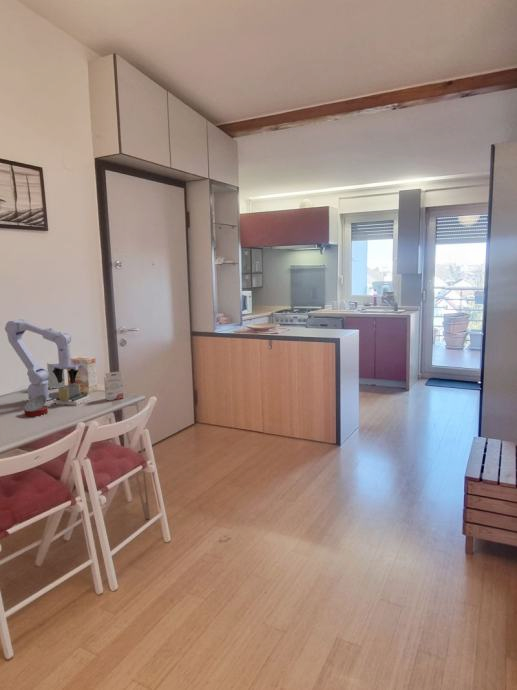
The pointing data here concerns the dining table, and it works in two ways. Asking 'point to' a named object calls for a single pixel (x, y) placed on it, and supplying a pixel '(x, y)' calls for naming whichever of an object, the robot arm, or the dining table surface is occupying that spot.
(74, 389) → the housing
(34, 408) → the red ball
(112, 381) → the ink cartridge box
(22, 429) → the dining table surface
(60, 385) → the skincare box
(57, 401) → the stand
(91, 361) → the coffeecake box
